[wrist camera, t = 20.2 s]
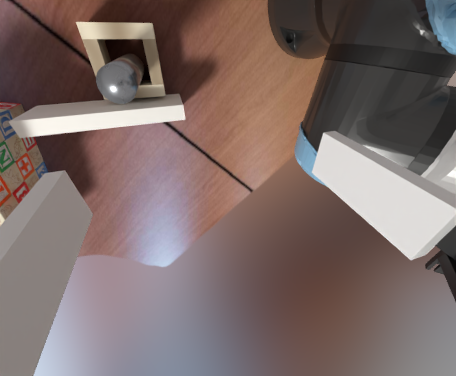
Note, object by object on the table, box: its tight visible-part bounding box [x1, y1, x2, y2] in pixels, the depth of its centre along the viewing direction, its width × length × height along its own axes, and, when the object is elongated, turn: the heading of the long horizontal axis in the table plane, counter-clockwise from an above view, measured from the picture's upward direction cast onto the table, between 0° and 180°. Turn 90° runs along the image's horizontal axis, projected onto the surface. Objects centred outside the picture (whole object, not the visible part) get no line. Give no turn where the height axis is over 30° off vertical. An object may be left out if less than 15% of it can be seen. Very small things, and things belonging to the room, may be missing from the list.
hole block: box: [76, 22, 165, 100], centre depth 26 cm, size 8×8×4 cm
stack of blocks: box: [0, 102, 48, 226], centre depth 28 cm, size 21×6×12 cm, turn 170°
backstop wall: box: [9, 94, 185, 138], centre depth 28 cm, size 20×2×7 cm, turn 91°
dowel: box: [96, 53, 145, 104], centre depth 23 cm, size 3×3×14 cm
